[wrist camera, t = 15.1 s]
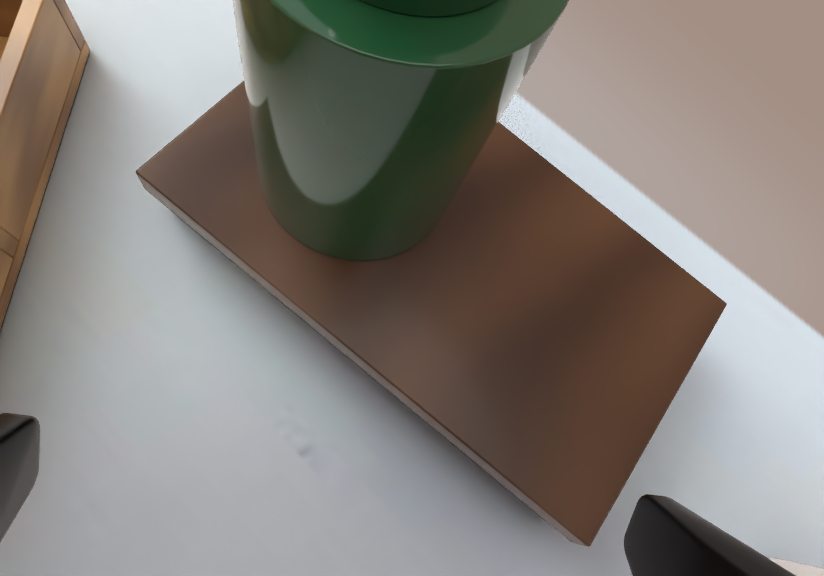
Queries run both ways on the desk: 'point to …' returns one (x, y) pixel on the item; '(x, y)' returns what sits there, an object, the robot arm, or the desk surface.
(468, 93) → the bottle
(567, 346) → the wooden block
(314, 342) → the desk surface
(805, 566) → the jar
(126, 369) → the desk surface
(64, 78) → the tray
